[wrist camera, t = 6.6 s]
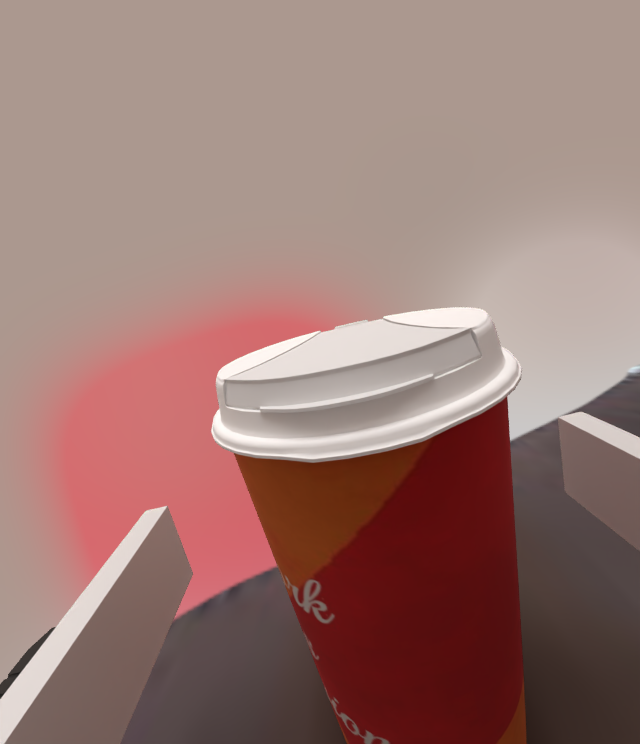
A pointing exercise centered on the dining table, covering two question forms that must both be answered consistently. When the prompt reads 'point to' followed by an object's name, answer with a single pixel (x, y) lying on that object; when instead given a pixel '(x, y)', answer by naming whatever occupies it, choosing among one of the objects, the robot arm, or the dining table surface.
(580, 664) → the dining table surface
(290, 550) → the paper cup
